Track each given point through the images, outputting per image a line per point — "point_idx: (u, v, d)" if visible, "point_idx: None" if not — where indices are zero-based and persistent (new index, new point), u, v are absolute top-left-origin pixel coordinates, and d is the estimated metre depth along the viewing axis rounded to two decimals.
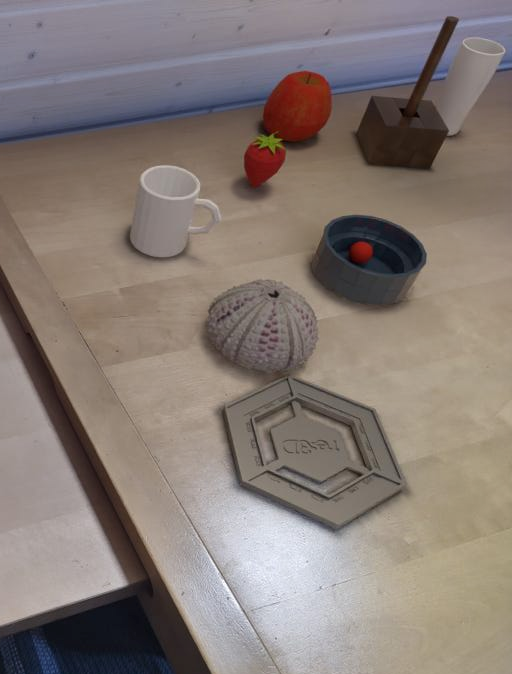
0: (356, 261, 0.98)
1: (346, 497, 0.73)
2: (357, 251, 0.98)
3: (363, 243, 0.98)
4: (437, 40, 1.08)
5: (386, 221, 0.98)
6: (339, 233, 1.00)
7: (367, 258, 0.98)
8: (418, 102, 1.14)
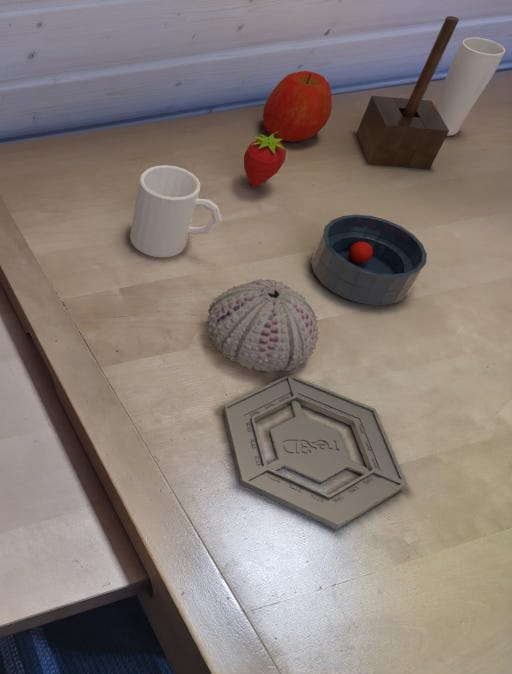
0: (356, 261, 0.98)
1: (346, 497, 0.73)
2: (357, 251, 0.98)
3: (363, 243, 0.98)
4: (437, 40, 1.08)
5: (386, 221, 0.98)
6: (339, 233, 1.00)
7: (367, 258, 0.98)
8: (418, 102, 1.14)
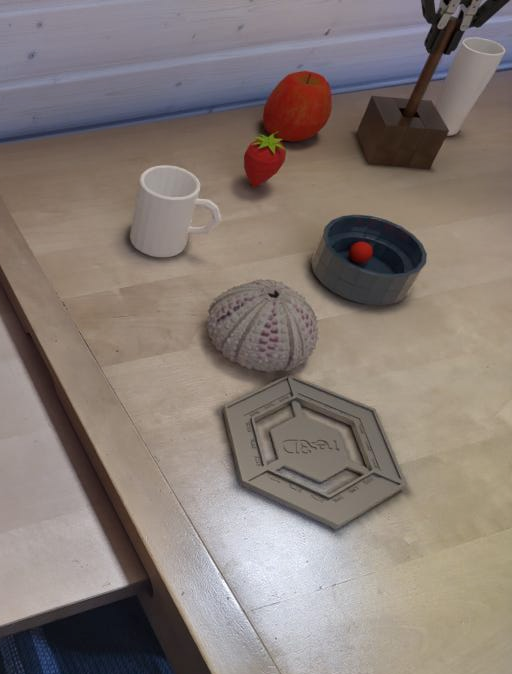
0: (356, 261, 0.98)
1: (346, 497, 0.73)
2: (357, 251, 0.98)
3: (363, 243, 0.98)
4: None
5: (386, 221, 0.98)
6: (339, 233, 1.00)
7: (367, 258, 0.98)
8: (418, 102, 1.14)
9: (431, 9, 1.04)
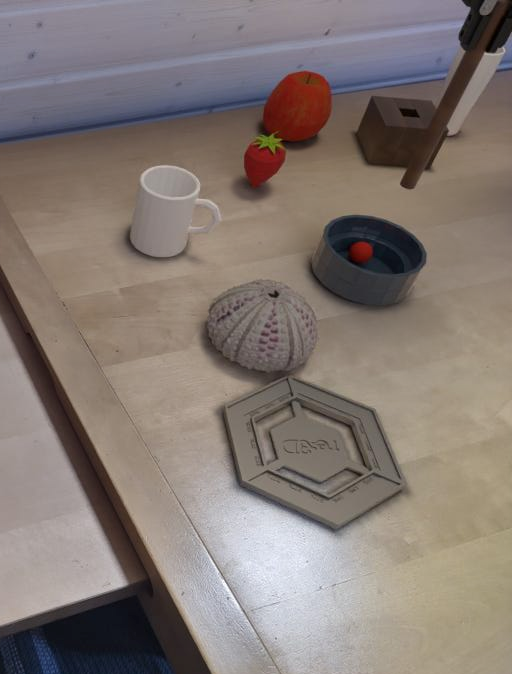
0: (356, 261, 0.98)
1: (346, 497, 0.73)
2: (357, 251, 0.98)
3: (363, 243, 0.98)
4: None
5: (386, 221, 0.98)
6: (339, 233, 1.00)
7: (367, 258, 0.98)
8: (446, 120, 0.81)
9: None
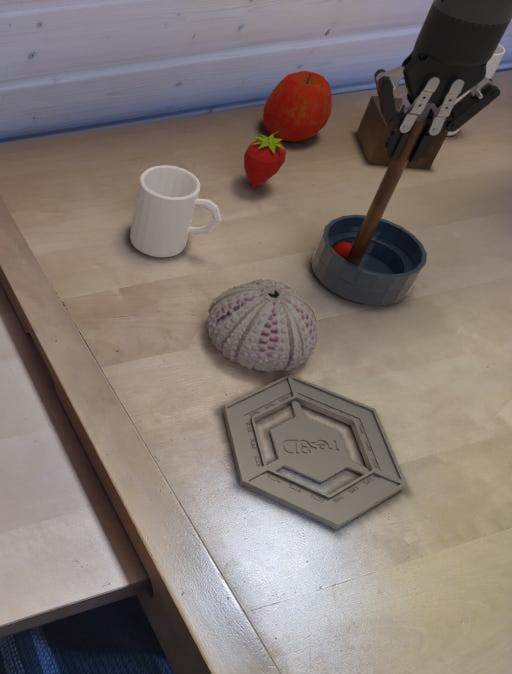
0: None
1: (346, 497, 0.73)
2: None
3: None
4: None
5: (386, 221, 0.98)
6: (339, 233, 1.00)
7: (339, 247, 0.98)
8: (379, 216, 0.89)
9: (391, 109, 0.79)
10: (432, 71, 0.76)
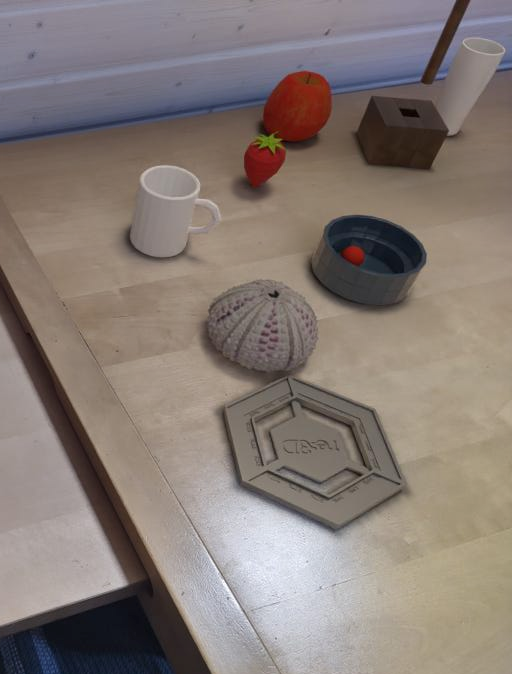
0: (345, 252, 0.97)
1: (346, 497, 0.73)
2: (354, 246, 0.98)
3: None
4: None
5: (386, 221, 0.98)
6: (339, 233, 1.00)
7: (356, 254, 0.96)
8: (458, 23, 1.03)
9: None
10: None
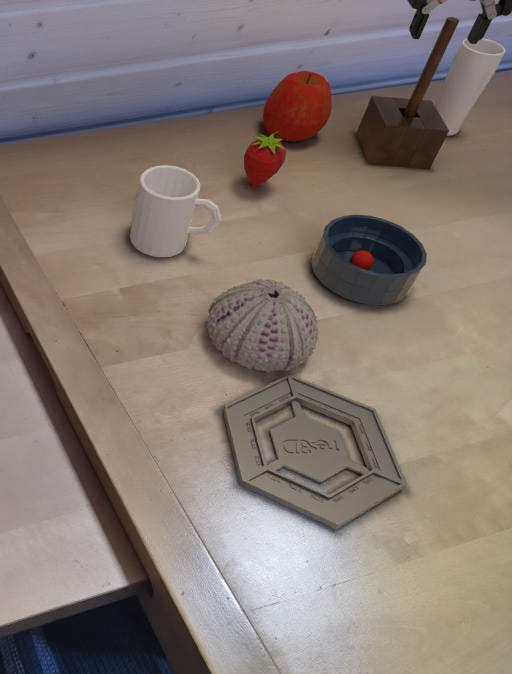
0: (362, 257, 0.96)
1: (346, 497, 0.73)
2: None
3: None
4: (437, 41, 1.08)
5: (386, 221, 0.98)
6: (339, 233, 1.00)
7: (368, 266, 0.96)
8: (418, 103, 1.14)
9: None
10: None
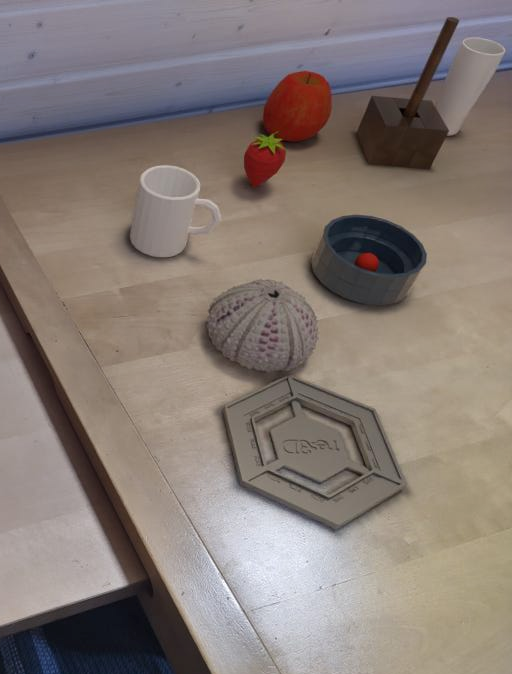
0: (371, 262, 0.96)
1: (346, 497, 0.73)
2: (378, 261, 0.96)
3: None
4: (437, 41, 1.08)
5: (386, 221, 0.98)
6: (339, 233, 1.00)
7: None
8: (418, 103, 1.14)
9: None
10: None
